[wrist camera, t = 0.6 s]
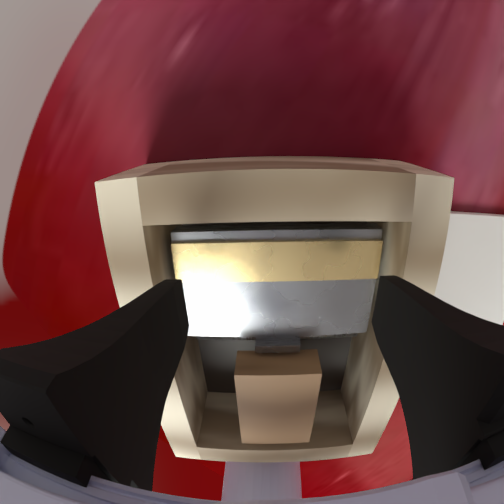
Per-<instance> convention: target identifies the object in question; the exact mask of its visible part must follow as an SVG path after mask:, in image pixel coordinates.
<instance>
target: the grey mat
mask: <svg viewBox="0 0 504 504" xmlns="http://www.w3.org/2000/svg"><path fill="white" fill-rule="evenodd" d="M434 296H435V297H437V298H439V299H441V300H442V301H444V302H446V303H448V304H450V305H452V306H454V307H456V308H458V309H460V310H462V311H465V312H467V313H469V314H472V315H474V316H477V317H479V318H482V319H484V320H487V321H490V322H494V323H497V324H500V325H502V324H503V322H504V215H501V214H487V213H472V212H455V211H451V212H450V219H449V226H448V232H447V238H446V244H445V249H444V254H443V259H442V264H441V269H440V273H439V278H438V282H437V286H436V290H435V294H434Z"/></svg>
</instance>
